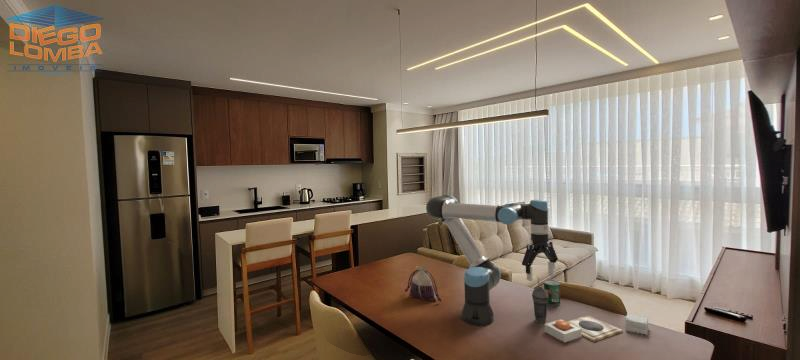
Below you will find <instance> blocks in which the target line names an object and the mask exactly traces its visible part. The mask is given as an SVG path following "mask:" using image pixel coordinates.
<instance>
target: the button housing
mask: <svg viewBox="0 0 800 360" xmlns="http://www.w3.org/2000/svg"><path fill="white" fill-rule="evenodd" d="M559 320H561V321H565V320H564V319H562V318H561V319H558V320H554V321H550V322H547V323H544V332H545V333H546V334H548V335H550V336H552V337H554V338H555V339H557V340H559V341H561V342H563V343H567V342H570V341H571V342H572V341H575V340H577V339H580V338H582V336H581V328H579V327H576V326H574V325H572V324H570V330H567V331H562V330H560V329H558V328H556V321H559Z"/></svg>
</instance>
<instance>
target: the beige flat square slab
mask: <svg viewBox="0 0 800 360" xmlns="http://www.w3.org/2000/svg"><path fill="white" fill-rule="evenodd" d="M566 322H568V323H570V324H572V325H574V326H576V327H579V328H581V337H584V338H586V339H588V340H590V341H591V342H593V343H594V342H599V341H601V340H604V339H607V338H610V337H612V336H616V335H618V334H621V333H623V329H621V328H619V327H617V326H614V325H613V324H612V325H611V324H609V323H607V322H606V321H603V320H600V319H597V318H596V317H593V316H591V315H589V314H588V315H585V316H581V317H578V318H575V319H571V320H569V321H568V320H567V321H566Z"/></svg>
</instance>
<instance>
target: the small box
mask: <svg viewBox="0 0 800 360" xmlns="http://www.w3.org/2000/svg"><path fill="white" fill-rule="evenodd" d="M626 330H627V332H631V333H635V332H636V333H635V334H639V333H641V334H640V335H643V334H646V335H645V336H648V333H649V318H648V316H647V317H646V316H642V315H638V314H637V315H636V314H631V313H629V312H628V313H627V314H626V316H625V331H626Z"/></svg>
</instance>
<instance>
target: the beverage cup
mask: <svg viewBox="0 0 800 360" xmlns="http://www.w3.org/2000/svg"><path fill="white" fill-rule="evenodd" d="M537 283H538V286H537V287H535V288H534V289H533V290H532V295H531V296H532V300H533V301H532V303H533V311H534V318H535V321H536V322H538V323H546V321H547V313H548V304H547V302H548V298H549V296H548V293H547V291H546V290H545V289H544V287H541V286H540V285H541V284H540V278H539V277H537Z"/></svg>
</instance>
